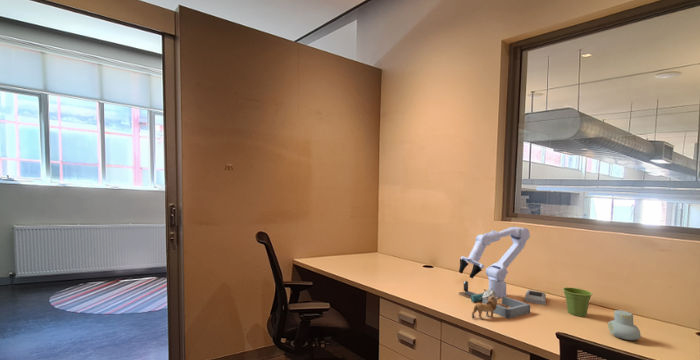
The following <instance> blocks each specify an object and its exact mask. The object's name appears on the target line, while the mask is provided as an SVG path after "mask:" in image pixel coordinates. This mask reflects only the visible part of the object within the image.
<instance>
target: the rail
mask: <svg viewBox="0 0 700 360" xmlns="http://www.w3.org/2000/svg"><path fill="white" fill-rule="evenodd" d="M458 295H459V296H462V297H465V298H467V299H469V300H471V295H468V294H465V291H460V292H459V291H458Z"/></svg>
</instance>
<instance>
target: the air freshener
mask: <svg viewBox="0 0 700 360" xmlns="http://www.w3.org/2000/svg"><path fill="white" fill-rule="evenodd" d="M613 314H614V316H613V319H612V320H610V321H608V323H607V328H608V331H609V332H610V334H612V336H614V337H616V338H618V337H619V338H618V339H621V340H626V341H636V340H639V339H641V337H642V336H641V331H640V329H639V327H638V326H637V325H635V324H634V314H633V313H632V312H628V311H625V310H620V309H615V310H614V312H613Z"/></svg>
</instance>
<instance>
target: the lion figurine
mask: <svg viewBox="0 0 700 360" xmlns="http://www.w3.org/2000/svg"><path fill="white" fill-rule="evenodd" d="M497 305H498V299H497V300H496V298H495V297H492V296H490V297H489V298H488V301H487V303H485V304H482V303H480V302H477V303H475V304H474V307H473V311H472V312H471V318H472V320H474V319H475V314H476V313H477V312H478V317H479V318H480V320H482V321H483V320H485V319H484V317H482V313H484V312H485V316H486V317H489V316H490V318H491V319H495V317H494V314H495V313H494V312H493V311H494V310H495V309H496V306H497ZM489 312H490V315H489Z"/></svg>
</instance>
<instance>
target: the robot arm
mask: <svg viewBox="0 0 700 360" xmlns="http://www.w3.org/2000/svg"><path fill="white" fill-rule="evenodd" d="M530 234H531V233H530V230H529V229H528V228H526V227H519V226H509V227H508V228H505V229H503V230H500V231H496V230H494V229H492V230H491V231H489V232H485V233H484V234H481V233H480V234H478V235H476V236H475V242H474V245H473V247H472V248H471V250H470V253H469V255H468V257H467V256H463V255H461V257H460V258H459V268H458V269H459V270H458V273H459V274H460V275H461V274H463V273H464V271H465V270H466V268H467V266H469V264H471V265H472V268H471V271H470V274H469V278H470V279H473V278H474V277H476V275H478V274H479V273H481V272H482V271H483V269H484V267H485V265H484V264H483V263H481V262H480V260H481V257H482V256H483V254H484V251H485V250H486V248H487V247H488V246H490V245H491V244H492V243H495V242H498V241H500V240H501V238H505V237H508V236H510V239H511V242H512V245H511V246H510V247H509V248H508V249H507V251H505V253H504V254H503V255H502V256H501V258H500V259H499V260H498V261H497V262H495V263H492V264H491V265H489V266H488V267H487V268H486V269H485V274H486V276H487V278H488V290H491V289H492V290H493V291H495V293H496V294H497V295H498V296H500V297H498V299H499V298H501V299H502V296H505V297H508V296H509V295H508V294H507V284H506V283H507V282H506V281H505V279H506V276H507V275H508V273H509V271H508V270H507V268H509V266H510V265H512V263H513V262H514V260H515V259H516V258H517V256H518V255H519V254H520V253H521V252H522V250H523V249H524V248H525V246H526V243H527V241H528V240H529V239H530V237H531V235H530Z"/></svg>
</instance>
